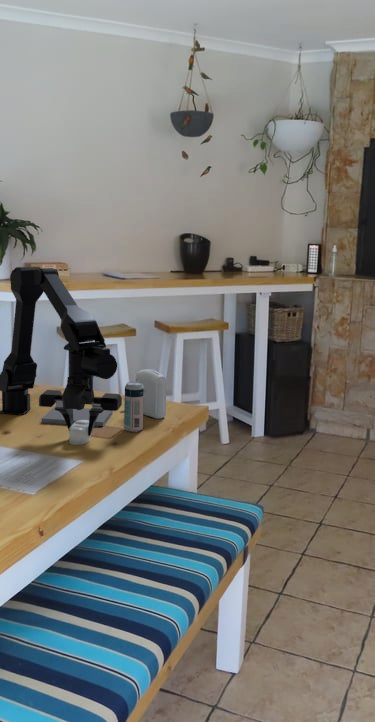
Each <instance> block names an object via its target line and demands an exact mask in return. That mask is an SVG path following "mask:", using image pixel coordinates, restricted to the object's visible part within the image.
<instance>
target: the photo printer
mask: <svg viewBox="0 0 375 722" xmlns="http://www.w3.org/2000/svg"><path fill="white" fill-rule="evenodd" d="M135 382H140V383H142V385H143V387H144V395H143V416H144V415H145V416H148V417H150V418H153V419H156V420H158V419H163V418H165V417H166V414H167V379H166V377H165V376H164V375H163V374H162V373H160V372H158V371H157V370H154V369H151V368H147V369H145V368H144V369H141V370H139V371H137V373H136V376H135Z"/></svg>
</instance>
